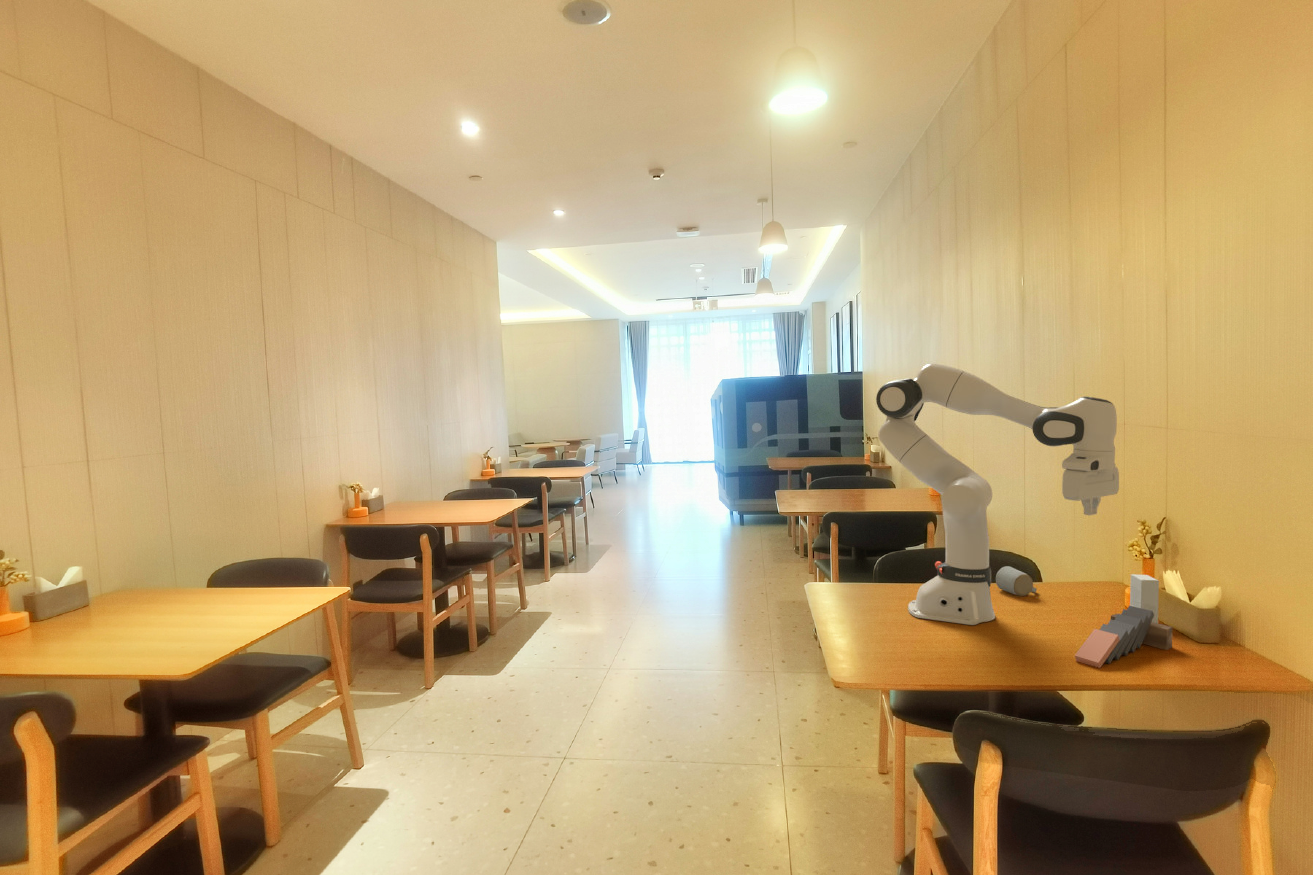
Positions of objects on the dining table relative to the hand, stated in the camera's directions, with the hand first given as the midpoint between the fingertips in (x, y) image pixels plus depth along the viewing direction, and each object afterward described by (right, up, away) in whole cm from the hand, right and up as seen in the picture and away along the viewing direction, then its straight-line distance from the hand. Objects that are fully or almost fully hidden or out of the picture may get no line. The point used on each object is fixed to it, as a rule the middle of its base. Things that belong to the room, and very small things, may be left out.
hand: (1090, 514), depth 167 cm
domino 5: (0, -31, -10) cm, 32 cm away
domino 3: (-6, -31, -14) cm, 35 cm away
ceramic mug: (+1, -29, +36) cm, 46 cm away
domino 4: (-3, -31, -12) cm, 33 cm away
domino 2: (-9, -31, -16) cm, 36 cm away
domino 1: (-13, -31, -19) cm, 39 cm away
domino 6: (+3, -30, -9) cm, 32 cm away
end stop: (+9, -31, -5) cm, 32 cm away
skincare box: (+20, -30, +9) cm, 37 cm away
